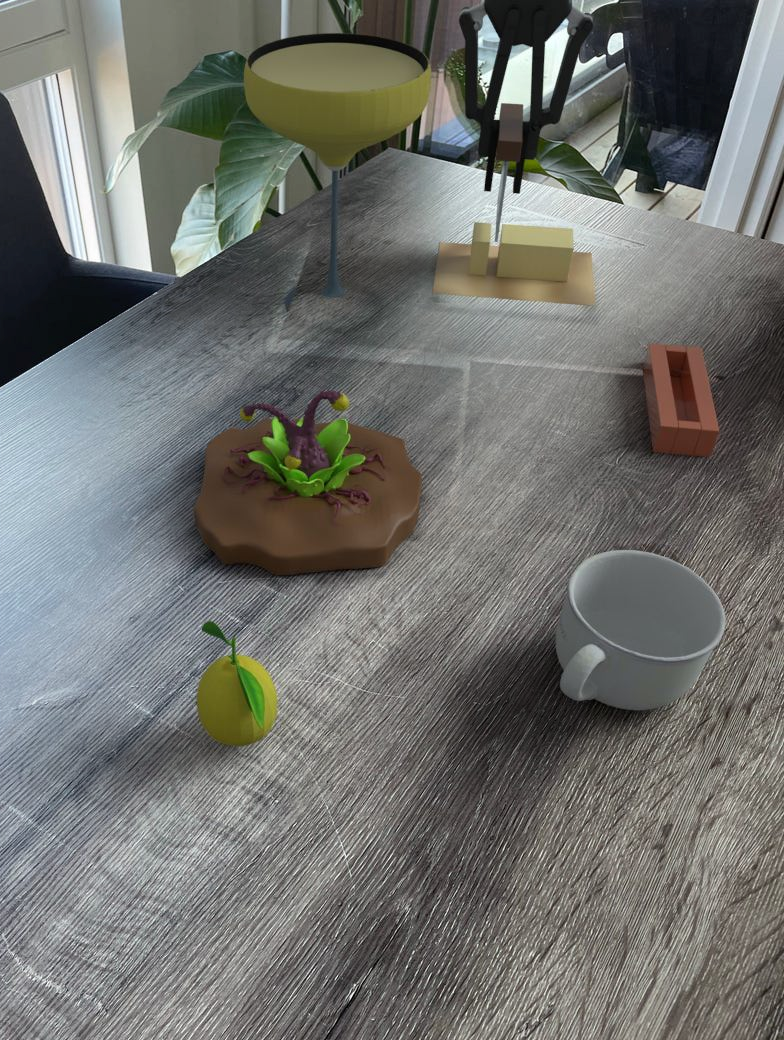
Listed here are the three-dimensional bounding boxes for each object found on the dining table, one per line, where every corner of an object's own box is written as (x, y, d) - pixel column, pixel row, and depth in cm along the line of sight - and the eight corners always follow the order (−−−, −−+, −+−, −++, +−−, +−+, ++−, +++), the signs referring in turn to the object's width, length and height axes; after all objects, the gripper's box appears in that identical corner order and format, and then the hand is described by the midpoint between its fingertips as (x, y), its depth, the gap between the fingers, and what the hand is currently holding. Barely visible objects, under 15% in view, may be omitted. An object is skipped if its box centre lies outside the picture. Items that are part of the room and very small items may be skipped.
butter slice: (487, 256, 122) (491, 223, 119) (485, 276, 118) (490, 242, 115) (470, 255, 122) (474, 221, 119) (468, 274, 118) (472, 240, 116)
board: (589, 264, 124) (591, 252, 122) (593, 318, 115) (595, 305, 114) (438, 253, 125) (439, 241, 124) (430, 305, 117) (432, 292, 115)
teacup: (618, 606, 82) (642, 529, 77) (727, 691, 76) (761, 613, 70) (486, 680, 77) (501, 602, 71) (592, 777, 71) (617, 700, 65)
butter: (566, 262, 121) (572, 228, 118) (567, 282, 117) (573, 248, 114) (497, 257, 122) (502, 223, 119) (496, 276, 118) (501, 242, 115)
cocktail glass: (341, 253, 126) (348, 21, 108) (446, 310, 116) (472, 65, 98) (220, 298, 118) (206, 55, 100) (321, 363, 108) (325, 107, 90)
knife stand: (692, 378, 106) (701, 347, 103) (708, 463, 96) (719, 431, 93) (640, 374, 106) (648, 342, 104) (651, 458, 96) (660, 425, 94)
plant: (422, 583, 84) (434, 471, 76) (183, 572, 85) (171, 460, 77) (418, 441, 98) (429, 333, 90) (214, 433, 99) (206, 326, 91)
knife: (509, 201, 120) (523, 104, 112) (507, 242, 112) (522, 142, 105) (488, 199, 120) (501, 102, 112) (485, 241, 112) (498, 140, 105)
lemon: (208, 695, 76) (198, 595, 69) (286, 705, 75) (285, 606, 68) (185, 767, 71) (172, 668, 64) (268, 779, 70) (265, 680, 63)
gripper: (452, -61, 95) (429, 196, 112) (624, -54, 93) (574, 206, 110) (457, -80, 100) (434, 169, 117) (620, -73, 98) (572, 178, 115)
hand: (502, 187), depth 113 cm, fingers closed on knife, 2 cm apart
